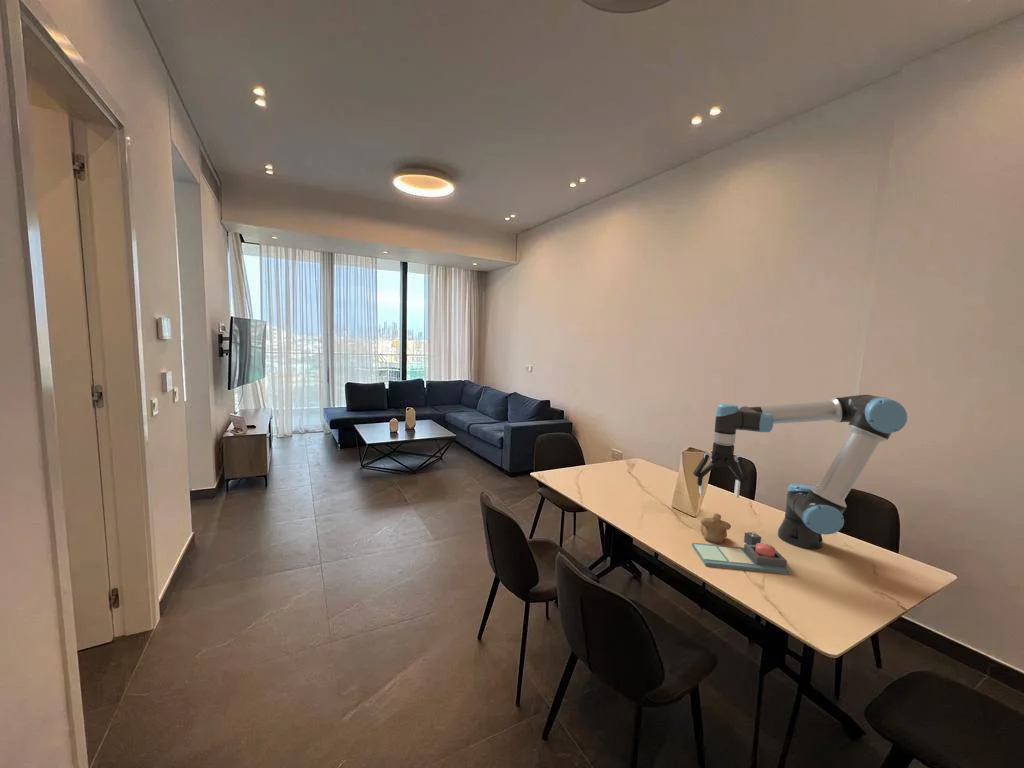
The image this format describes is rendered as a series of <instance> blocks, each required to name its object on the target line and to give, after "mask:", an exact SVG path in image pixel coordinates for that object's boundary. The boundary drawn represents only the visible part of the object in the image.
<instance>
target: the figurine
mask: <svg viewBox="0 0 1024 768" xmlns="http://www.w3.org/2000/svg"><path fill="white" fill-rule="evenodd" d="M721 518H722V515H721V514H719V513H714V514H713V516H712V517H704V518H702V519H700V524H701V525H700V532H701V533H702V534H703V537H704V540H705V541H706V542H710V543H715V544H721V543H723V541H724V539H726V538H727V536H728V533H727V532H728V530H731V527H732V526H731V524H730V523H729V522H727V521H724V520H721Z"/></svg>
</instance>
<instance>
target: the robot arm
mask: <svg viewBox="0 0 1024 768" xmlns="http://www.w3.org/2000/svg"><path fill="white" fill-rule="evenodd" d="M824 421H834V422H835V423H848V428H849V433H848V435H847V437H846V438H845V439H844V442H843V444H842V445H841V447H840V449H839V451H838V452H837V453H836V455H835V457H834V459H833V460H832V462H831V464H830V465H829V467H828V469H827V471H826V472H825V474H824V475H823V477H822V479H821V481H820V483H819V484H818V486H813V485H808V484H800V483H790V484H789V485H788V488H787V491H786V492H787V495H786V504H785V511H784V512H785V514H784V519H783V520H782V522H781V524H780V526H779V527H778V530H777V537H778V538H779V539H781V540H782V541H784V542H786V543H788V544H791V545H792V546H796V547H800V548H803V549H811V550H817V549H821V548H822V547H823V544H824V540H823V536H822V535H825V536H826V535H833V534H835V533H838V532H839V531H841V529H842V528H843V526H844V525H845V519H844V515H843V513H844V512H845V510H846V508H847V504H846V501H845V499H847V496H848V495H849V493H850V491H851V490H852V488H853V486H854V484H855V483H856V482H857V480H858V478H859V476H860V475H861V473H862V472H863V470H864V468H865V466H867V463H868V462H869V460H870V458H871V456H872V455H873V453H874V452H875V450H876V448H877V447H878V445H879V444H880V443H882V442H886V441H888V440H889V438H890V436H892V434H894V433H896V432H899V431H901V430H902V429H903V428H904V427H905V426H906V425H907V422H908V413H907V411H906V409H905V407H904V405H903V404H901V403H900V402H898V401H897V400H893V399H891V398H888V397H885V396H876V395H872V394H857V395H849V396H842V397H840V396H839V397H833V398H831V399H830V400H825V401H811V402H799V403H789V404H787V403H786V404H778V405H776V404H773V405H763V406H747V405H745V406H740V407H739V406H738V405H735V404H730V403H719V404H718V405H717V407H716V412H715V422H714V431H713V443H712V451H711V454H708V453H707V452H705V453H703V455H702V458H701V459H700V461H699V463H698V465H697V466H696V468H695V469H694V471H693V475H694V476H695V477H697V482H696V484H697V486H698V493H699V494H700V495H702V496H703V495H704V489H705V488H704V487H705V478H704V477H705V476H706V475H708V473H709V472H710V471H712V470H713V469H714V468H715V467H720V468H721V467H723V468H729V470H730V471H731V472H732V473H733V475H734V476H735V477H736V478H737V479H735V482H734V490H733V491H734V492H733V496H735V498H738V499H739V498H740V491H741V490H742V489H743V483H745V481H749V476H748V474H747V471H746V468H745V467H744V465H743V458H742V457H741V456H740V455H736V456H734V454H735V443H736V433H737V430H738V431H747V432H748V431H749V432H758V433H771V431H772V430H773V427H774V425H775V424H791V423H806V422H807V423H808V422H824ZM708 461H710V462H709V463H708ZM733 461H735V463H736V464H737V465H736V466H737V467H738V470H739V471H738V470H737V469H736V467H735V466H734V465H733V464H732V463H733ZM707 463H708V465H707ZM739 472H740V473H739Z"/></svg>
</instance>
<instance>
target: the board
mask: <svg viewBox="0 0 1024 768" xmlns="http://www.w3.org/2000/svg"><path fill="white" fill-rule="evenodd" d="M691 546H692V548H693V549H694V551H695V552H696V554H697V555H698V556H699V558H700V560H701V561H702V562H703V564H704V566H705V567H713V568H714V567H716V568H723V569H733V570H742V571H753V572H763V573H770V574H781V575H790V574H791V570H790V569H789V568H787V566H788V560H787V559H786V558H785V557H784V556H783V555H782V554H781V553H780V552H778V550H777V549H775V556H774V557H765V556H759V555H758V554H757V553H756V552H755V549H756V545H748V544H746V543H744V546H731V545H720V544H711V543H699V542H692V543H691Z"/></svg>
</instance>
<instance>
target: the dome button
mask: <svg viewBox="0 0 1024 768" xmlns="http://www.w3.org/2000/svg"><path fill="white" fill-rule="evenodd" d="M775 550H776V548H775V547H774V546H773V545H770V544H767V543H763V542H761V543H757V544H756V549H755V552H756V553H757V554H758V555H759V556H765V557H774V556H775Z"/></svg>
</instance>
